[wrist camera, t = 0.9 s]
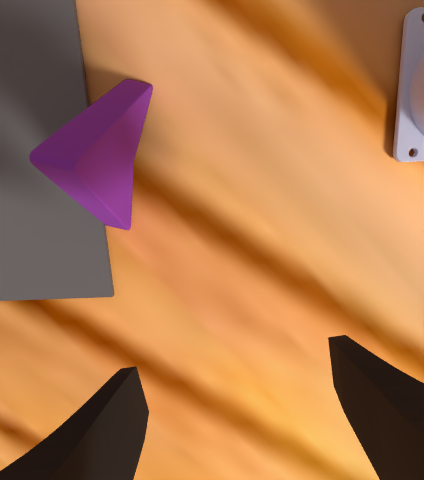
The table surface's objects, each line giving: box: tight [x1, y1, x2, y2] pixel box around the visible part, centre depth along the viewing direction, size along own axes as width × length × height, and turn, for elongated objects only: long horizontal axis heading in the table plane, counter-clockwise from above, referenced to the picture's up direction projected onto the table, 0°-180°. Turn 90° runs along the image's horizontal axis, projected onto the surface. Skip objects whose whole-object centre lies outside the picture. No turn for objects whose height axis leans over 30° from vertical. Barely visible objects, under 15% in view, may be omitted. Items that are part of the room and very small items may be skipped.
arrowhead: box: [29, 79, 153, 230], centre depth 18 cm, size 10×2×10 cm
